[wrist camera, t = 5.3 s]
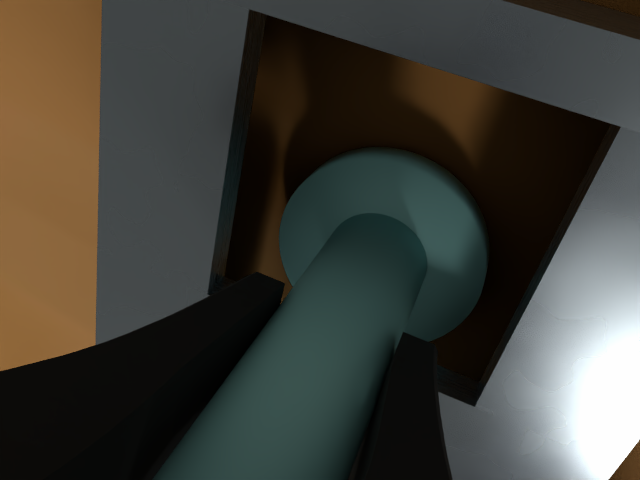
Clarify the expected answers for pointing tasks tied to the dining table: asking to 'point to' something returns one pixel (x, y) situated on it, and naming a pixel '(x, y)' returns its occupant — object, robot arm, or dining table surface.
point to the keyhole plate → (435, 51)
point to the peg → (341, 317)
